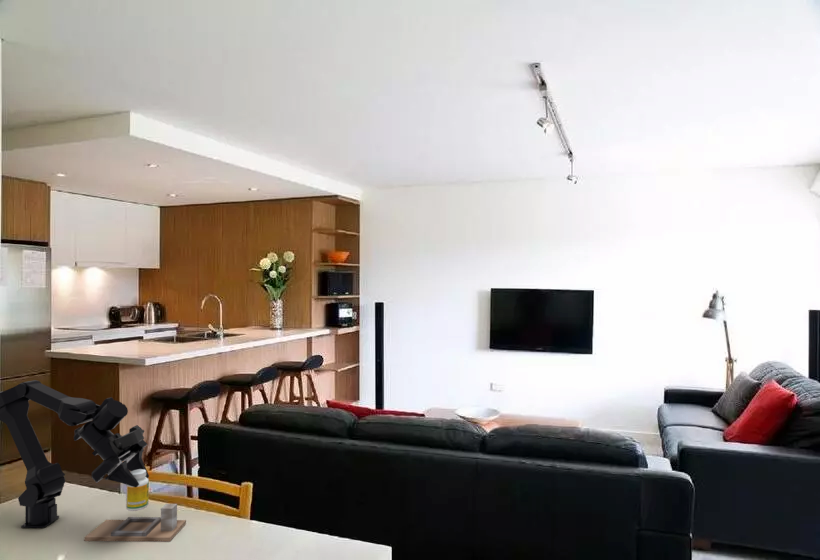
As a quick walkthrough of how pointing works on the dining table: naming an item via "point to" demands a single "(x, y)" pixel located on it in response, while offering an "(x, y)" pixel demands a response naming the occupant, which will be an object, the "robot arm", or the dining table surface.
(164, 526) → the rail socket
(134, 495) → the supplement bottle
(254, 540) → the dining table surface
